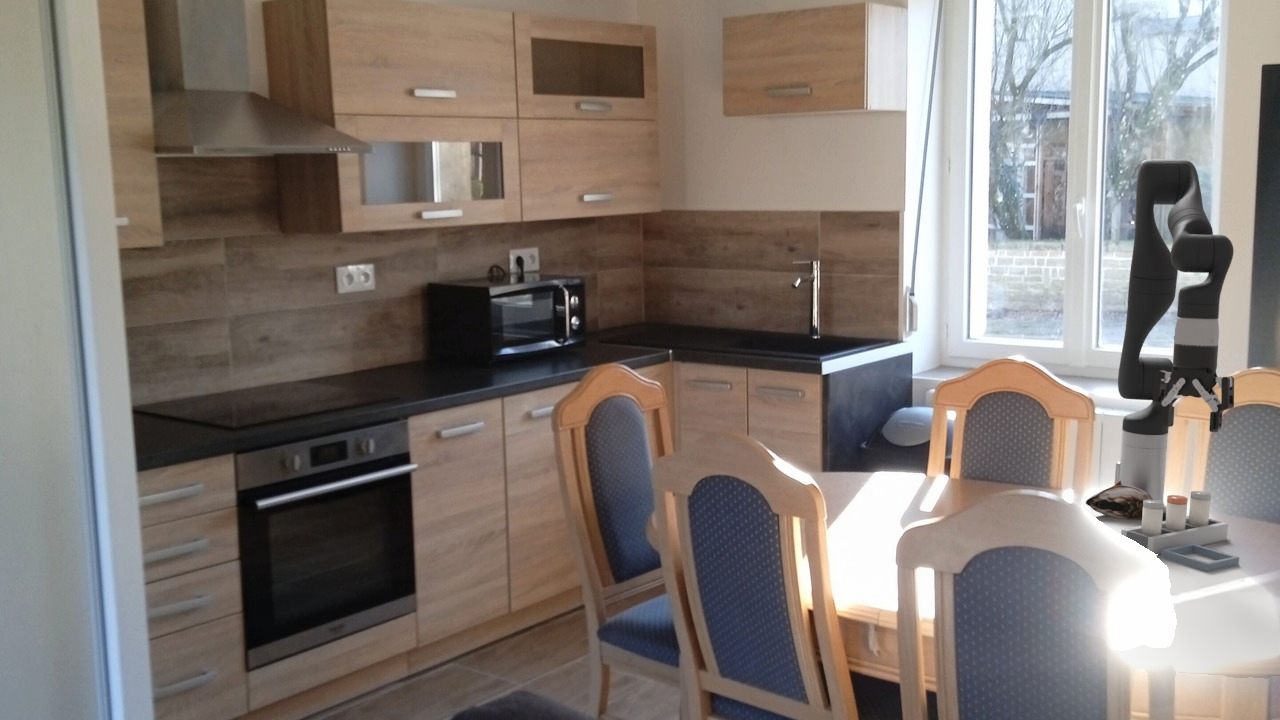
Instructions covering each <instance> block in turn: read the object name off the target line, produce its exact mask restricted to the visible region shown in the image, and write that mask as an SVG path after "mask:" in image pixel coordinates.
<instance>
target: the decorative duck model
mask: <svg viewBox="0 0 1280 720" xmlns="http://www.w3.org/2000/svg"><path fill="white" fill-rule="evenodd" d="M1148 499H1151V500H1153V499H1152V498H1151V496H1150V495H1149V494H1148V493H1146V492H1145V491H1143V490H1141V489H1138V488H1136V487H1132V486H1126V485H1121V481H1119V482H1118V483H1116V484H1115V483H1114V485H1113V486H1111V487H1108V488H1105V489H1103V490H1102V491H1099V492H1097V493H1096V494H1094V495H1092V496H1091V497H1088V498H1087V499H1086V500H1085V505H1087V506H1088V507H1090V508H1091V510H1093V511H1095V512H1097V513H1099V514H1101V515H1104V516H1107V517H1111V518H1117V519H1118V518H1119V519H1123V520H1124V519H1126V520H1142V512H1143V501H1144V500H1148ZM1162 521H1166V511H1164V510H1163V519H1162Z"/></svg>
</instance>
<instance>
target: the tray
mask: <svg viewBox="0 0 1280 720" xmlns="http://www.w3.org/2000/svg"><path fill="white" fill-rule="evenodd" d="M1193 553H1194V554H1196V555H1199V556H1203V557H1205V558H1210V559H1213V561H1203V560H1201V559H1196V558H1193V557H1190V556H1187V555H1188V554H1193ZM1160 557H1161V558H1162V559H1164V560H1166V561H1167V560H1168V561H1171V562H1174V563H1178V564H1181V565H1184V566H1187V567H1191V568H1193V569H1196V570H1198V571H1199V570H1200V571H1203V572H1206V573H1210V572H1214V571H1215V572H1216V571H1218V570H1222V569H1228V568H1231V567H1237V566H1240V557H1239V556H1236V555H1233V554H1229V553H1226V552H1222V551H1219V550H1215V549H1212V548H1209V547H1206V546H1199V545H1196V544H1188V545H1183V546H1178V547H1174V548H1169V549H1164V550H1162V554H1161V556H1160Z"/></svg>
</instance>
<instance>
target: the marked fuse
mask: <svg viewBox="0 0 1280 720" xmlns="http://www.w3.org/2000/svg"><path fill="white" fill-rule="evenodd" d="M1188 499H1189V498H1188V497H1187V496H1182V495H1176V494H1170V495H1167V498H1166V511H1165V512H1166V522H1165V529H1168V530H1172V531H1175V532H1177V531H1182V530H1185V527H1186V517H1187V513H1188V512H1187V510H1188V502H1189V501H1188Z"/></svg>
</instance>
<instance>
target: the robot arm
mask: <svg viewBox="0 0 1280 720" xmlns="http://www.w3.org/2000/svg"><path fill="white" fill-rule="evenodd" d="M1195 166H1196V165H1194V163H1192V162H1191V161H1190V160H1187V159H1157V158H1156V159H1152V158H1151V159H1150V158H1149V159H1144V160H1142V162H1141V163H1140V166H1139V167H1138V172H1137V178H1136V188H1135V189H1136V191H1135V192H1136V196H1135V220H1134V221H1135V224H1134V225H1135V226H1134V227H1135V228H1134V238H1133V239H1134V240H1133V247H1132V256H1131V257H1132V258H1131V263H1130V269H1129V270H1130V271H1129V281H1128V289H1127V290H1128V291H1127V293H1128V294H1127V307H1126V309H1127V310H1126V321H1125V322H1126V323H1125V329H1124V330H1125V331H1124V337H1123V338H1124V339H1123V344H1122V349H1121V355H1120V361H1119V362H1120V363H1119V369H1118V374H1117V387H1118V388H1117V390H1118V393H1119V395H1120V397H1121V398H1122V399H1126V400H1135V401H1136V400H1138V401H1140V400H1141V401H1151V403H1150V404H1149V405H1148V406H1147V407H1145V408H1143V409H1141V410H1139V411H1136V412H1133V413H1129V414H1126V415H1125V416H1124V417H1123V419H1122V427H1121V428H1122V429H1121V442H1120V443H1121V445H1120V458H1119V461H1117V462H1116V463H1115V472H1114V473H1115V474H1114V485H1115V484H1116V483H1118V482H1119V481H1121V485H1126V486H1132V487H1136V488H1138V489H1141V490H1143V491H1145V492H1146V493H1148V494H1149V495H1150V496H1151V498H1152V499H1153V500H1159V501H1162V502H1164V495H1165V481H1166V466H1167V451H1168V440H1169V439H1168V437H1169V428H1170V427H1173V426H1174V422H1175V421H1174V420H1175V406H1173V405H1174V404H1175V403H1176V402H1177V401H1178V400H1179V398H1181V397H1193V398H1202V400H1203V401H1204V402H1205V403H1206V404H1207V405H1208V406H1209V408H1210V410H1211V411H1210V413H1209V429H1208V431H1209V432H1210V433H1217V432H1219V430H1221V428H1222V423H1223V413H1224V411H1227V410H1231V409H1233V408H1234V406H1235V378H1234V377H1233V376H1232V375H1231V376H1229V375H1228V376H1218V375H1217V368H1218V355H1219V339H1220V327H1219V317H1220V316H1219V315H1220V314H1219V313H1220V300H1221V294H1222V290H1223V286H1224V283H1225V280H1226V277H1227V274H1228V272H1229V269H1230V266H1231V264H1232V261H1233V257H1234V253H1235V252H1234V250H1235V249H1234V245H1233V243H1232V241H1231V240H1230V239H1229V237H1227V236H1226V235H1222V234H1214V231H1213V227H1212V225H1211V222H1210V220H1209V218H1208V217H1207V214H1206V211H1205V209H1204V205H1203V204H1204V203H1203V198H1202V190H1201V185H1200V181H1199V175H1198V171H1197V169H1196V167H1195ZM1155 205H1163V206H1164V205H1165V206H1167V205H1171V206H1172V207H1171V209H1170V210H1169V213H1168V215H1167V228H1168V230H1169V233H1170V235H1171V238H1172V244H1171V245H1172V246H1171V250H1170V249H1169V247H1168V246H1167V244H1166V242H1165V241H1164V239H1163V237H1162V234H1161V233H1160V231H1159V229H1158V225H1157V223H1156V220H1155V214H1154V213H1155V212H1154V208H1155V207H1154V206H1155ZM1179 272H1182V273H1197V274H1198V273H1203V274H1204V273H1205V274H1206V273H1207V277H1206V278H1205V280H1204V281H1203V282H1201V283H1197V284H1192V285H1186V286H1183V287H1181V288H1180V289H1179V291H1178V295H1177V296H1178V297H1177V313H1176V314H1177V315H1176V316H1177V318H1176V322H1175V323H1176V324H1175V328H1174V336H1173V356H1172V357H1173V358H1172V360H1171V359H1169V358H1168V357H1159V356H1158V357H1156V356H1155V357H1153V356H1151V357H1150V356H1140V355H1141V352H1142V348H1143V346H1144V343H1145V341H1146V339H1147V337H1148V335H1150V332H1151V331H1152V330H1153V329H1154V327H1155V326H1156V325H1157V323H1158V322H1159V321H1160V320H1161V319H1162V318H1164V316H1165V314H1167V312H1168V311H1169V310H1170V308H1171V306H1172V305H1173V303H1174V300H1175V298H1176V293H1177V291H1176V290H1177V285H1178V284H1177V283H1178V273H1179ZM1217 384H1218V387H1219V389H1220V390H1221V392H1220V393H1221V400H1220V399H1219V395H1218V394H1217V392H1216V391H1215V389H1214V388H1215V386H1216V385H1217Z"/></svg>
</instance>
